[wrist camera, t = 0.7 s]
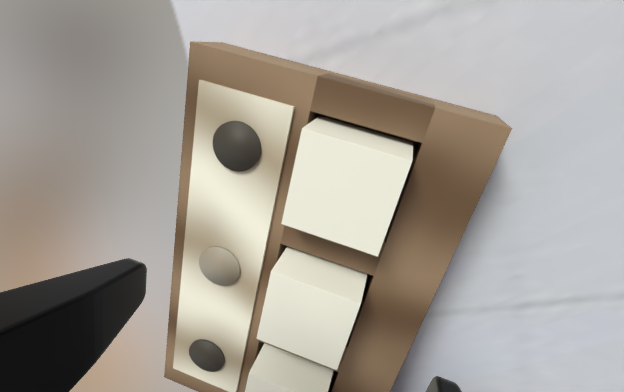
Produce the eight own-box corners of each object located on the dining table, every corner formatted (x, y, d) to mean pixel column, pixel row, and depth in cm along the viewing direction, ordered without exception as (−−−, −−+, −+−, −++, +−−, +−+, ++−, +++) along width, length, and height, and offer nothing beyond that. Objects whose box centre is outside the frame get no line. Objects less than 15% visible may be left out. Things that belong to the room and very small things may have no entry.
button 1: (383, 226, 18) (377, 256, 16) (300, 199, 19) (281, 223, 16) (413, 142, 16) (412, 160, 14) (320, 115, 17) (302, 128, 14)
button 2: (319, 407, 24) (307, 452, 21) (257, 382, 25) (238, 423, 22) (335, 360, 22) (324, 404, 20) (268, 334, 23) (248, 372, 20)
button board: (364, 417, 26) (357, 466, 23) (188, 345, 28) (160, 381, 25) (496, 115, 17) (514, 130, 14) (222, 42, 19) (185, 41, 16)
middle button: (347, 329, 21) (336, 370, 18) (276, 302, 22) (256, 338, 19) (368, 268, 19) (360, 303, 17) (290, 241, 20) (270, 271, 17)
